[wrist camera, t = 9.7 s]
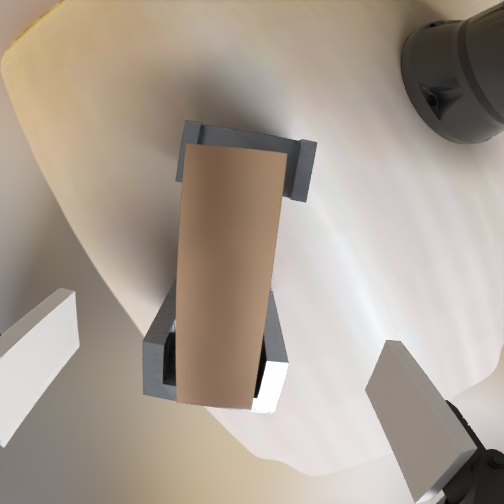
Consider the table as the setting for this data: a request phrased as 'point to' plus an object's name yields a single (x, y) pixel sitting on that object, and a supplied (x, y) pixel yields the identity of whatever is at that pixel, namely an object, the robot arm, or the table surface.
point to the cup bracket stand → (273, 348)
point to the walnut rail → (225, 270)
